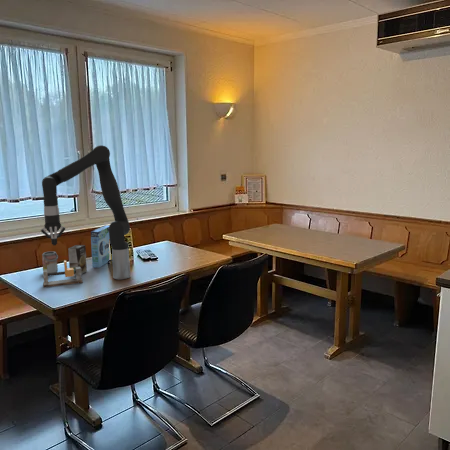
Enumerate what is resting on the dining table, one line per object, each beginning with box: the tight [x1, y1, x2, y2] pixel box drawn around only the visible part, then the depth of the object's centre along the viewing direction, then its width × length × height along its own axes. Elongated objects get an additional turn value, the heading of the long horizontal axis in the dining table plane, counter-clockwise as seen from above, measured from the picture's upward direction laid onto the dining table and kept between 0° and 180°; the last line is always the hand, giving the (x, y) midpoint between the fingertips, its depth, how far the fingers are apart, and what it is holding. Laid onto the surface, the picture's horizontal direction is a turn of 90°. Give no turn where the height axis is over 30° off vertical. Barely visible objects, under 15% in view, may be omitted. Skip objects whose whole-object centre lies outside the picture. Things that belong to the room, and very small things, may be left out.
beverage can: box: [41, 251, 59, 273], centre depth 258 cm, size 9×8×12 cm
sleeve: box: [63, 260, 75, 278], centre depth 239 cm, size 4×4×8 cm
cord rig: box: [42, 267, 83, 288], centre depth 239 cm, size 20×6×8 cm, turn 113°
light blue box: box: [90, 225, 110, 269], centre depth 276 cm, size 20×5×23 cm, turn 169°
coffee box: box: [67, 244, 88, 276], centre depth 257 cm, size 9×6×16 cm
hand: (54, 245), depth 238 cm, fingers closed
